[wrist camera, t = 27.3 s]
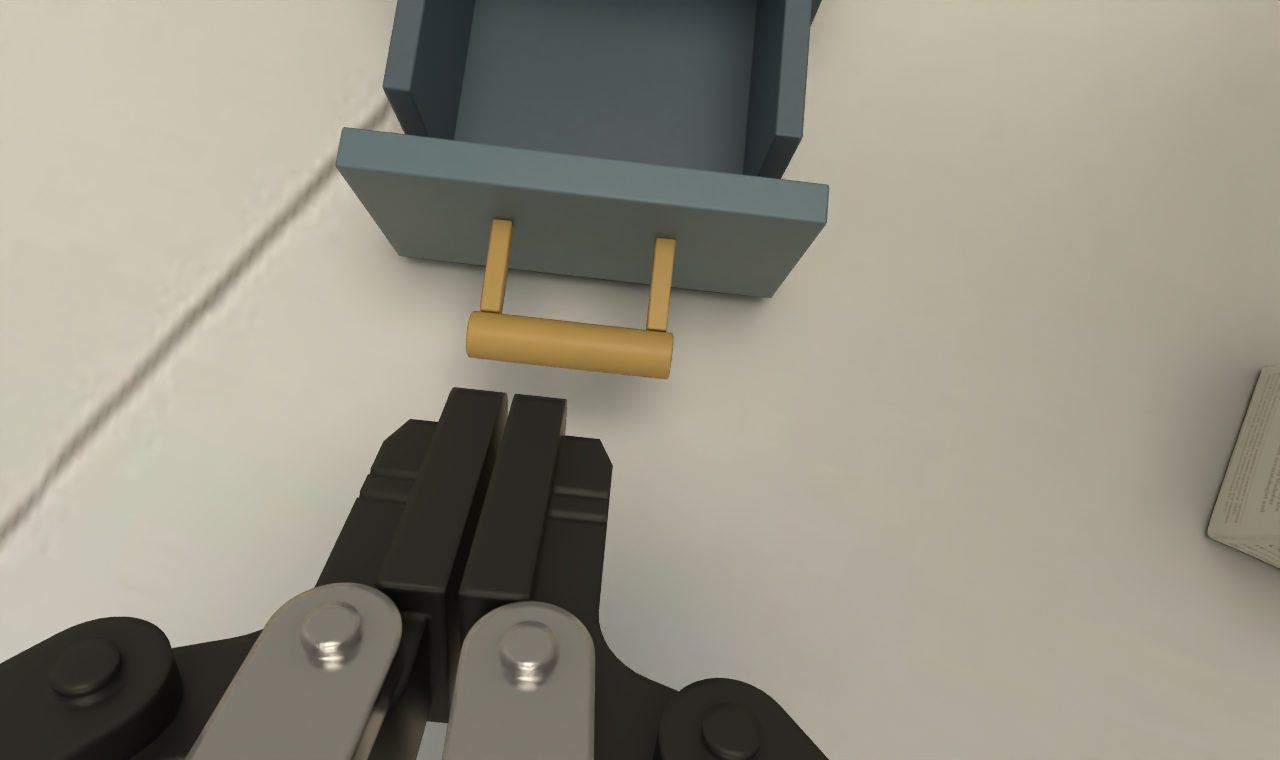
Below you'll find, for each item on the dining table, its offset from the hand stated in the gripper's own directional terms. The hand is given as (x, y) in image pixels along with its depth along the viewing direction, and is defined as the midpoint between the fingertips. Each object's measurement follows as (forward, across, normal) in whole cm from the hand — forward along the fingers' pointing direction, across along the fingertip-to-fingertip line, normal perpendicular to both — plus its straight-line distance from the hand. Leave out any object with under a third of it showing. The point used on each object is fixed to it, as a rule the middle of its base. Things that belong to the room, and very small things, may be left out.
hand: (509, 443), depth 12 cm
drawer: (+21, 0, +3) cm, 21 cm away
